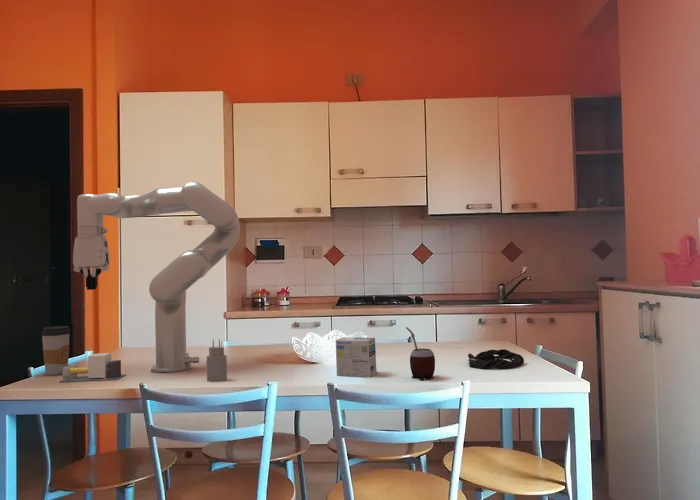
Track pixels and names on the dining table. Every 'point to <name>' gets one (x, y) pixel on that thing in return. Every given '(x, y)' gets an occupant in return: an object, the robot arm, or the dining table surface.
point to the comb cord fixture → (72, 371)
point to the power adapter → (216, 364)
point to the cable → (495, 359)
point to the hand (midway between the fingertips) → (91, 289)
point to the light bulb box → (356, 356)
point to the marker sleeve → (98, 365)
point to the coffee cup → (55, 349)
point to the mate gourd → (421, 362)
